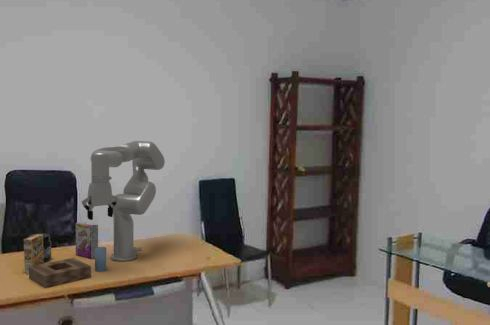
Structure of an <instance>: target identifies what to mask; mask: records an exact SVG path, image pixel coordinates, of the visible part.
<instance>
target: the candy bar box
mask: <svg viewBox="0 0 490 325" xmlns="http://www.w3.org/2000/svg"><path fill="white" fill-rule="evenodd" d="M74 227H75V229H74V230H75V256H78V257H82V258H86V259H95V248H97V247H99V224H96V223H93V222H92V223H91V222H87V221H77V222H76V223H75V226H74Z"/></svg>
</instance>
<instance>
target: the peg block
mask: <svg viewBox="0 0 490 325" xmlns="http://www.w3.org/2000/svg"><path fill="white" fill-rule="evenodd" d="M90 278H92V266H91V265H89V264H88V263H86V262H84V261H81V260H79V259H77V258H74V257H71V258H66V259H61V260H56V261H55V260H54V261H50V262H44V264H40V265H35V266H30V267H29V273H28V279H30V280H31V281H32V282H35V283H36V284H38V285H39V286H42V287H43V288H46V289H47V288H48V289H49V288H51V287H55V286H56V287H57V286H60V285H64V284H68V283H73V282H77V281H80V280H81V281H82V280H86V279H90Z"/></svg>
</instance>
